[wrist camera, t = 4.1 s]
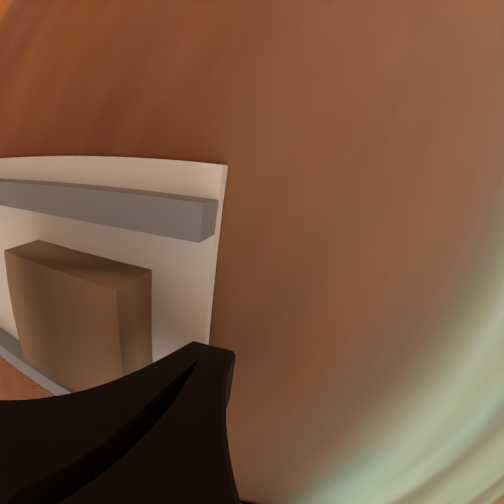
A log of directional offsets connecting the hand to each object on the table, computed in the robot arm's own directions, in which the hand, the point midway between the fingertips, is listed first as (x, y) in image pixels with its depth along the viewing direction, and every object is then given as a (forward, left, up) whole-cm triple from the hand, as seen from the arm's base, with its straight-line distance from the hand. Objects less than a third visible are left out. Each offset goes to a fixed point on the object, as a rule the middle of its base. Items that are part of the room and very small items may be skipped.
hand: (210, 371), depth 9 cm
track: (+12, 0, -2) cm, 12 cm away
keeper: (+6, 0, -1) cm, 6 cm away
